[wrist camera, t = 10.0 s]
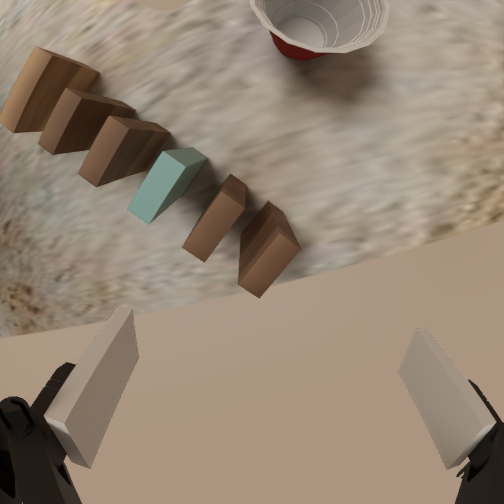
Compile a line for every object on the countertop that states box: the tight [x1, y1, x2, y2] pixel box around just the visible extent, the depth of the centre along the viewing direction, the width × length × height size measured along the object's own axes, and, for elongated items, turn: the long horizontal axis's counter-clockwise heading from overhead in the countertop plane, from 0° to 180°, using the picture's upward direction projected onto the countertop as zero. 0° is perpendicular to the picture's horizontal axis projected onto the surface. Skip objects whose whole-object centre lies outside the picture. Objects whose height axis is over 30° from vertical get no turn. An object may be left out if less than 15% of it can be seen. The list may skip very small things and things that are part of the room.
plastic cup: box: [250, 0, 390, 60], centre depth 21 cm, size 11×11×12 cm
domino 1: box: [38, 88, 135, 155], centre depth 24 cm, size 2×5×12 cm, turn 143°
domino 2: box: [78, 116, 170, 187], centre depth 25 cm, size 2×5×12 cm, turn 144°
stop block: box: [0, 46, 99, 133], centre depth 23 cm, size 3×8×10 cm, turn 143°
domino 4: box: [182, 174, 246, 263], centre depth 27 cm, size 2×5×12 cm, turn 143°
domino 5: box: [238, 201, 301, 298], centre depth 28 cm, size 2×5×12 cm, turn 143°
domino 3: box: [127, 148, 208, 224], centre depth 26 cm, size 2×5×12 cm, turn 143°
